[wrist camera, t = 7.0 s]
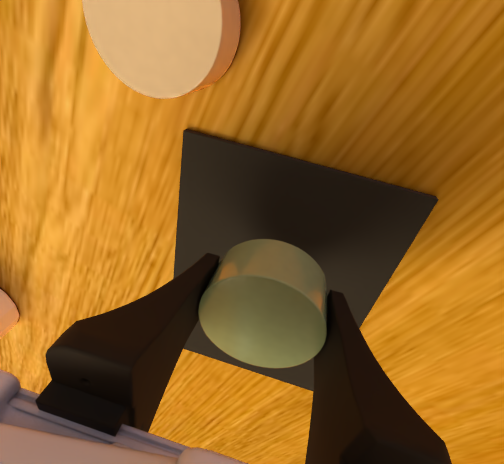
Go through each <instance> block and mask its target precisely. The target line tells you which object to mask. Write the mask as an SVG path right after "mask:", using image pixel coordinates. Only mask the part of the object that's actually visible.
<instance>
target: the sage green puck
mask: <svg viewBox="0 0 504 464" xmlns="http://www.w3.org/2000/svg"><path fill="white" fill-rule="evenodd" d="M198 314H199V320H200V323H201V326H202V328H203V330H204V332H205V333H206V335H207V336H208V338H209V339H210V340H211V341H212V342H213V343H214V344H215V345H216V346H217V347H218V348H220V349H221V350H222V351H224V352H225V353H226V354H228V355H230V356H232V357H233V358H235V359H238V360H240V361H242V362H245V363H248V364H251V365H255V366H260V367H266V368H287V367H293V366H297V365H300V364H302V363H305V362H307V361H309V360H310V359H312V358H313V357H314V356H316V355H317V354H318V353H319V352H320V350H321V349H322V347H323V346H324V343H325V341H326V337H327V282H326V278H325V275H324V273H323V271H322V269H321V268H320V266H319V265H318V264H317V262H316V261H315V260H314V259H313V258H312V257H311V256H310V255H308V254H307V253H306V252H304V251H303V250H301V249H300V248H298V247H296V246H294V245H292V244H289V243H286V242H283V241H279V240H273V239H255V240H249V241H245V242H243V243H240V244H238V245H236V246H234V247H232V248H231V249H230V250H228V251H227V252H226V253H225V254H224V255H223V257H222V258H221V260H220V262H219V264H218V266H217V268H216V270H215V271H214V273H213V275H212V277H211V279H210V281H209V283H208V285H207V287H206V289H205V291H204V293H203V295H202V297H201V299H200V302H199V308H198Z"/></svg>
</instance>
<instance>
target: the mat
mask: <svg viewBox="0 0 504 464" xmlns="http://www.w3.org/2000/svg"><path fill="white" fill-rule="evenodd" d="M437 201H438V198H437V197H436V196H433V195H429V194H425V193H422V192H418V191H414V190H411V189H407V188H403V187H400V186H396V185H392V184H388V183H385V182H381V181H377V180H374V179H370V178H366V177H363V176H359V175H355V174H351V173H348V172H344V171H340V170H337V169H333V168H329V167H326V166H322V165H318V164H314V163H311V162H307V161H303V160H300V159H296V158H292V157H289V156H285V155H281V154H277V153H274V152H270V151H266V150H263V149H259V148H255V147H252V146H248V145H244V144H240V143H237V142H233V141H229V140H226V139H222V138H218V137H215V136H211V135H207V134H203V133H200V132H196V131H192V130H189V129H186V130H184V132H183V147H182V161H181V176H180V190H179V205H178V220H177V234H176V249H175V264H174V278H176V277H177V276H179V275H180V274H181V273H183V272H184V271H185V270H187V269H188V268H189V267H191V266H192V265H193V264H194V263H195V262H197V261H198V260H199V259H200V258H201V257H202V256H204V255H205V254H206V253H211V254H214V255H217V256H220V258H219V262H220V260H221V258H222V257H223V255H224V254H225V253H226V252H227V251H228V250H230V249H231V248H232V247H234V246H236V245H238V244H240V243H243V242H245V241H249V240H255V239H273V240H279V241H283V242H286V243H289V244H292V245H294V246H296V247H298V248H300V249H301V250H303V251H304V252H306V253H307V254H308V255H310V256H311V257H312V258H313V259H314V260H315V261H316V262H317V264H318V265H319V266H320V268H321V269H322V271H323V273H324V275H325V278H326V282H327V295H328V293H329V291H330V289H331V290H334V291H337V292H340V293H343V294H344V296H345V298H346V300H347V303H348V305H349V308H350V310H351V312H352V315H353V317H354V319H355V321H356V323H357V325H358V327H359V328H360V326H361V325H362V323H363V321H364V320H365V318H366V316H367V315H368V313H369V312H370V310H371V308H372V307H373V305H374V303H375V302H376V300H377V299H378V297H379V295H380V294H381V292H382V290H383V289H384V287H385V286H386V284H387V282H388V281H389V279H390V278H391V276H392V274H393V273H394V271H395V269H396V268H397V266H398V265H399V263H400V261H401V260H402V258H403V256H404V255H405V253H406V252H407V250H408V248H409V247H410V245H411V244H412V242H413V240H414V239H415V237H416V235H417V234H418V232H419V231H420V229H421V227H422V226H423V224H424V222H425V221H426V219H427V218H428V216H429V214H430V213H431V211H432V209H433V208H434V206H435V205H436V203H437ZM174 278H173V279H174ZM183 349H186V350H189V351H192V352H195V353H199V354H202V355H205V356H208V357H211V358H214V359H217V360H220V361H223V362H226V363H229V364H232V365H235V366H238V367H241V368H244V369H247V370H250V371H253V372H256V373H259V374H262V375H265V376H268V377H271V378H274V379H277V380H280V381H283V382H287V383H290V384H293V385H296V386H299V387H302V388H305V389H308V390H311V391H314V357H313V358H312V359H310V360H309V361H307V362H305V363H302V364H300V365H297V366H293V367H287V368H266V367H260V366H255V365H251V364H248V363H245V362H242V361H240V360H238V359H235V358H233V357H232V356H230V355H228V354H226V353H225V352H224V351H222V350H221V349H220V348H218V347H217V346H216V345H215V344H214V343H213V342H212V341H211V340H210V339H209V338H208V336H207V335H206V333H205V332H204V330H203V328H202V326H201V323H200V320H198V322H197V324H196V326H195V327H194V329H193V331H192V333H191V335H190V336H189V338H188V340H187V342H186V344H185V346H184V348H183Z"/></svg>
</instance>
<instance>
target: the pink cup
mask: <svg viewBox="0 0 504 464" xmlns="http://www.w3.org/2000/svg"><path fill="white" fill-rule="evenodd" d="M18 319H19V313H18V310H17V307H16V305H15V304H14V302H13V301H12V300H11V299H10V298H9V296H8V295H7V294H6V293H5V292H4V291H2V290H1V289H0V339H1V338H2V337H3V336H4V335H5V334H6V333H8V332H9V331H10V330H11V329H12V328H13V327H14V326H15V325H16V324H17V322H18Z"/></svg>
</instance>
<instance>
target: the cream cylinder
mask: <svg viewBox="0 0 504 464" xmlns="http://www.w3.org/2000/svg"><path fill="white" fill-rule="evenodd" d="M82 3H83V10H84V16H85V20H86V24H87V27H88V30H89V33H90V36H91V38H92V41H93V43H94V45H95V47H96V49H97V51H98V53H99V55H100V56H101V58H102V59H103V61H104V62H105V64H106V65H107V66H108V68H109V69H110V70H111V71H112V72H113V74H114V75H115V76H116V77H117V78H118V79H119V80H121V81H122V82H123V83H124V84H126V85H127V86H128V87H130V88H131V89H133V90H134V91H137V92H139V93H141V94H143V95H146V96H149V97H153V98H158V99H170V98H176V97H179V96H183V95H186V94H189V93H192V92H195V91H198V90H201V89H204V88H206V87H208V86H210V85H212V84H213V83H215V82H216V81H217V80H218V79H220V78H221V77H222V76H223V74H224V73H225V72H226V71H227V69H228V68H229V66H230V64H231V63H232V60H233V58H234V56H235V53H236V50H237V47H238V42H239V37H240V9H239V3H238V0H82Z"/></svg>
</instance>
